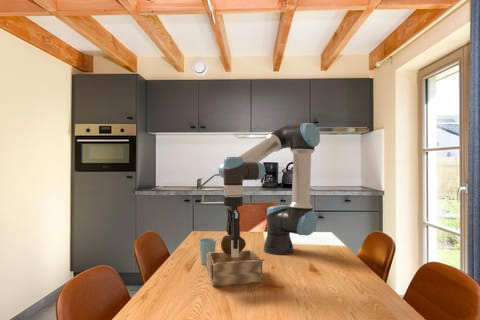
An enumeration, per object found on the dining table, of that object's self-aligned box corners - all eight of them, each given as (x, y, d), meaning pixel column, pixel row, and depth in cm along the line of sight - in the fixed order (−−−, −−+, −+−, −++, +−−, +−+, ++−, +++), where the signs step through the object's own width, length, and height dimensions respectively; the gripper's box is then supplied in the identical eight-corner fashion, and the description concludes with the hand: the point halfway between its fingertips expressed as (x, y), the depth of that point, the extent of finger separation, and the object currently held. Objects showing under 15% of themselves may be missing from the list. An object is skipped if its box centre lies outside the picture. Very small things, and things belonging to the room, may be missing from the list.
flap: (260, 260, 116) (264, 259, 111) (260, 262, 116) (264, 260, 111) (214, 263, 113) (216, 262, 107) (214, 265, 112) (216, 264, 107)
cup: (218, 264, 139) (218, 241, 139) (202, 267, 136) (201, 242, 136) (213, 259, 146) (212, 237, 146) (197, 262, 143) (197, 239, 143)
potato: (221, 252, 127) (221, 232, 127) (245, 251, 127) (245, 232, 127) (220, 257, 119) (220, 236, 120) (245, 257, 119) (245, 236, 120)
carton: (251, 268, 133) (251, 249, 134) (262, 282, 117) (262, 261, 117) (206, 271, 129) (206, 252, 130) (210, 287, 113) (210, 265, 113)
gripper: (220, 193, 133) (219, 247, 132) (228, 198, 113) (228, 262, 112) (237, 193, 134) (237, 247, 134) (248, 198, 114) (248, 261, 114)
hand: (233, 253), depth 123 cm, fingers closed on potato, 7 cm apart
